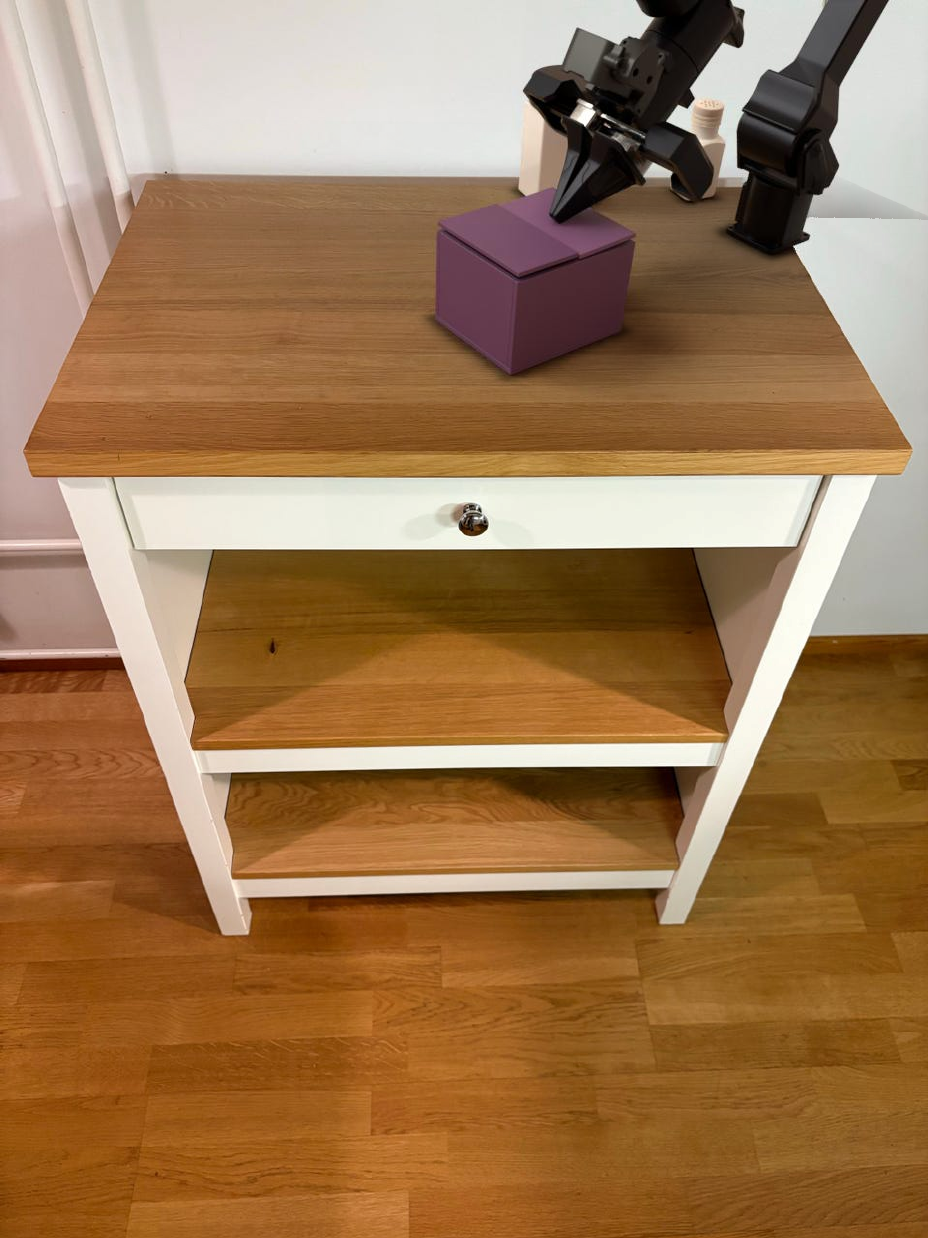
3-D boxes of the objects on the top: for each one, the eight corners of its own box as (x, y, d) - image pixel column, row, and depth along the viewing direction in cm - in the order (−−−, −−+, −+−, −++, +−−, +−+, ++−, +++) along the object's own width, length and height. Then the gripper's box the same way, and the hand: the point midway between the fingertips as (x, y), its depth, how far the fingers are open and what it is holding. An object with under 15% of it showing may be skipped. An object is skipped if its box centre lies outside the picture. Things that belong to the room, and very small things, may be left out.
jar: (568, 218, 106) (582, 98, 97) (505, 196, 109) (513, 78, 100) (610, 191, 111) (626, 75, 102) (549, 171, 114) (560, 57, 105)
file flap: (552, 190, 89) (552, 186, 89) (635, 237, 83) (636, 232, 83) (497, 210, 87) (497, 205, 86) (579, 259, 81) (580, 254, 81)
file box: (543, 282, 96) (552, 186, 89) (620, 331, 90) (637, 232, 83) (435, 320, 90) (436, 220, 83) (510, 375, 84) (518, 273, 78)
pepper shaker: (666, 188, 112) (683, 99, 105) (695, 183, 113) (714, 94, 106) (686, 203, 109) (704, 112, 103) (716, 197, 111) (736, 107, 104)
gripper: (551, -44, 79) (437, 126, 82) (723, 17, 69) (586, 208, 72) (608, 49, 88) (503, 199, 92) (767, 115, 78) (644, 281, 82)
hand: (553, 219), depth 84 cm, fingers closed
